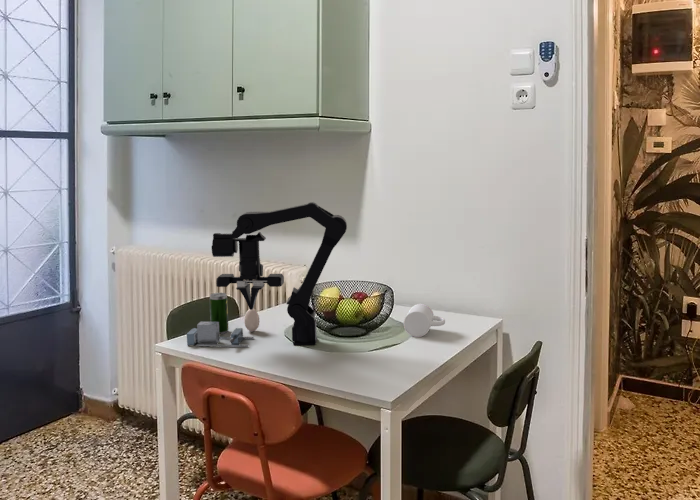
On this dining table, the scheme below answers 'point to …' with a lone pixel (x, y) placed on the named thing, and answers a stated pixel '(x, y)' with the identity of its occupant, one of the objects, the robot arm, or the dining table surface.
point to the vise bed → (193, 339)
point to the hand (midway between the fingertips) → (251, 309)
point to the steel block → (208, 332)
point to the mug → (421, 320)
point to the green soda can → (219, 311)
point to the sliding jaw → (236, 336)
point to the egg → (251, 320)
